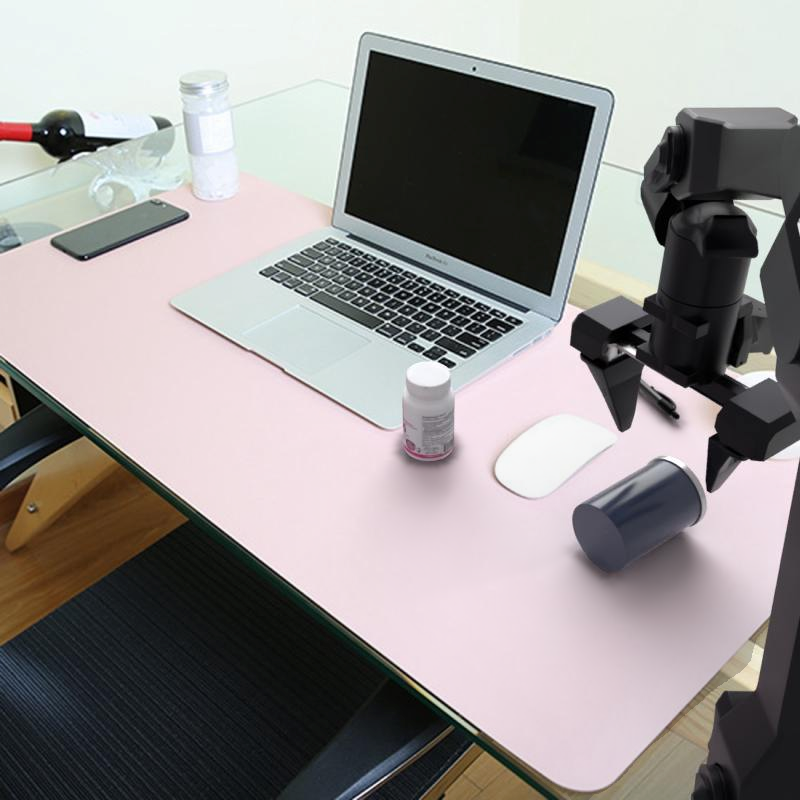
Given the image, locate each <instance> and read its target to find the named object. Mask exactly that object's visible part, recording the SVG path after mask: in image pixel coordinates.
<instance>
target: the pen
mask: <svg viewBox="0 0 800 800" xmlns="http://www.w3.org/2000/svg"><path fill="white" fill-rule="evenodd" d="M639 391H641V392H642V393H643V394H644V395H645V396H646V397H647V398H649V399H650V401H652V402H653V403H654V404H655V405H656V406H657V407H658V409H660V410H661V411H662V412H663V413H664V414H666V415H667V416H668V417H671V418H673V419H674V420H676V421H677V420H680V418H681V416H680V414H679V413H678V412H677V405H676V402H675V401H674V400H673V399H672V398H671V397H670V396H668V395H666V394H665V393H663V392H661V391H659V390H657V389H656V388H655V387H654V385H649V384H648V383H647V382H646V381H644V379H642V378H641V381H640V387H639Z"/></svg>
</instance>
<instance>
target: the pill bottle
mask: <svg viewBox="0 0 800 800" xmlns="http://www.w3.org/2000/svg"><path fill="white" fill-rule="evenodd" d="M405 373H406V374H405V387H404V389H403V391H402V397H401V401H402V402H401V403H402V405H401V407H402V443H403V444H402V445H403V448H404V451H405V453H406V454H407V455H408V456H409V457H411V458H413V459H415V460H417V461H422V462H436V461H439V460H443V459H445V458H447V457H448V456H449V455H450V454H451V453H452V451H453V449H454V445H455V407H456V402H455V401H456V397H455V395H456V394H455V392H454V389H453V387H452V375H451V371H450V368H448V366H446V365H444V364H442V363H441V362H437V361H428V360H427V361H420V362H416V363H414V364H413V365H411V366H410V367H409V368H408V369H407V370H406V372H405Z"/></svg>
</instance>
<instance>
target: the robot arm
mask: <svg viewBox="0 0 800 800" xmlns="http://www.w3.org/2000/svg"><path fill="white" fill-rule="evenodd" d="M674 119H675V125H668V126H667V127H666V128H665V130H664V133H663V135H662V138H661V140H660V141H659V143H658V144H657V145H656V147H655V148H654V150H653V151H652V153H651V155H649V158H648V159H647V161H646V163H644V166H643V180H642V181H641V184H640V200H641V203H642V206H643V209H644V211H645V214H646V215H647V218H648V221H649V224H650V227H651V229H652V232H653V234H654V236H655V239H656V241H657V243H658V244H659V245H660V246H661V247H663V248H664V249H663V256H662V261H661V268H660V273H659V278H658V285H657V290H656V292H655V293H653V294H650V295H648V296H645V297H644V298H643V304H642V305H639V304H638V303H636V302H634V301H632V300H631V299H629V298H627V297H625V296H623V295H622V294H621V295H618V296H616V297H614V298H611V299H609V300H607V301H605V302H604V301H603V302H602V303H599V304H597V305H595V306H593V307H590V308H588V309H586V310H583V311H581V312H579V313H578V314H577V315H576V317H575V318H574V319H573V320H572V322H571V329H570V337H569V338H570V339H569V346H570V347H572V348H573V349H575V350H577V351H578V352H580V353H579V358H580V361H582V362H583V363H584V364H585V365H586V367H587V368H588V370H589V372H590V374H591V376H592V378H593V380H594V381H595V383H596V385H597V387H598V389H599V391H600V393H601V395H602V397H603V399H604V401H605V403H606V406H607V408H608V410H609V413H610V415H611V417H612V420H613V422H614V424H615V427H616V429H617V430H618V432H620V433H625V432H627V431H628V430H630V429H631V428H632V425H633V422H634V418H635V416H636V415H635V414H636V410H637V403H638V399H639V392H640V389H639V387H640V381H641V379H642V375H643V371H644V368H645V366H646V367H648V368H649V369H651V370H652V371H654V372H655V373H657V374H659V375H660V376H662V377H664V378H665V379H667V380H669V381H670V382H671V383H674V384H675V385H678V386H680V387H681V388H682V389H683V388H684V389H687V388H689V389H691V390H693V391H695V392H696V393H697V394H699V395H701V396H703V397H705V398H706V399H708V400H710V401H711V402H713V403H714V404H716V405H717V406H719V407H721V408H720V410H719V411H718V413H716V416H715V422H714V426H713V428H714V430H715V433H714V434H712V435H710V436H709V437H708V439H707V452H706V464H705V465H706V468H705V479H704V480H705V489H706V492H707V493H709V494H713V493H714V492H716V491H718V490H719V489H720V488H721V487H722V486H723V485H724V483H726V481H727V480H728V479H729V477H730V476H731V475H732V474H733V473H734V472H735V470H736V469H737V468H738V467H739V465H740V464H741V463H742V462H746V461H749V460H750V461H751V462H762V463H764V462H766V461H767V460H769V459H771V458H772V457H774V456H775V455H778V454H779V453H781V452H782V451H784V450H786V449H787V448H789V447H791V446H792V445H794V444H796V443H797V442H799V441H800V229H799V226H798V224H799V221H800V123H799V118H798V117H797V116H796V114H794V113H792V112H789V111H787V110H785V109H784V108H782V107H777V106H776V107H775V106H767V107H764V106H763V107H762V106H760V107H758V106H757V107H756V106H754V107H753V106H752V107H751V106H750V107H749V106H747V107H742V106H741V107H739V106H737V107H683V108H682V109H681V110H680V111H678V113H677V115H676V116H675V118H674ZM772 200H780V201H781V202H782V208H783V212H784V217H785V219H784V221H783V222H782V224H781V227H780V229H779V231H778V233H777V235H776V237H775V239H774V241H773V243H772V245H771V246H770V248H769V250H768V253H767V255H766V257H765V259H764V261H763V263H762V265H761V266H760V270H759V281H760V286H761V292H762V296H763V301H764V302H762V301H760V300H759V299H757V298H754V297H753V296H751V295H748V294H746V293H744V292H745V290H746V289H745V288H746V284H747V280H748V275H749V270H750V267H751V262H752V259H756V258H758V256H759V252H760V251H759V250H760V249H759V241H758V239H757V236H758V229H757V226H756V225H755V223H754V221H753V220H752V218H751V217H750V216H749V215H748V214H747V212H745V210H743V209H742V208H740V207H738V206H737V205H735V202H734V201H772ZM773 350H774V353H775V356H776V360H775V371H774V377H775V380H774V379H772V378H770V377H767V378H765V379H763V380H762V381H759V382H758V383H756V384H754V385H752V386H751V387H749V386H747V385H746V384H744V383H742V382H740V381H739V380H737V379H735V378H734V377H732V376H730V375H729V374H727V373H726V372H727V368H729V367H730V366H731V367H733V368H734V369H738V368H740V367H742V366H743V365H745V364H747V362H748V358H749V355H750V354H760V353H761V354H762V355H765V356H766V355H770V354H771V353H772V351H773ZM791 496H792V497H791V502H790V508H789V513H788V517H787V518H788V519H787V525H786V529H785V534H784V539H783V546H782V549H781V550H782V551H781V557H780V561H779V567H778V573H777V576H776V577H777V578H776V583H775V587H774V593H773V598H772V605H771V610H770V615H769V621H768V626H767V630H766V631H767V632H766V637H765V642H764V648H763V653H762V659H761V664H760V670H759V674H758V679H757V683H756V684H757V685H756V687H755V689H754V690H724V691H723V692H722V693H721V695H720V696H719V697H718V699H717V700H716V702H715V704H714V705H715V706H714V714H713V715H714V716H713V725H712V730H711V734H710V738H709V740H708V742H707V750H708V753H707V756H706V763H702V764H701V765H700V766H699V768H698V771H697V772H696V773H695V777H694V778H695V779H694V786H693V787H694V788H693V791H692V792H691V794H690V800H800V458H799V459H798V463H797V470H796V475H795V480H794V486H793V491H792V495H791Z"/></svg>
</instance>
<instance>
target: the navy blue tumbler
mask: <svg viewBox="0 0 800 800" xmlns="http://www.w3.org/2000/svg"><path fill="white" fill-rule="evenodd" d="M707 509H708V502H707V496H706V492H705V490H704V487H703V485H702V483H701V481H700V479H699V478H698V476H697V475H696V474H695V473H694V471H693V470H692V469H691V468H690V467H689V466H688V465H687V464H685V463H684V462H682V461H681V460H679V459H678V458H675V457H673V456H670V455H659V456H656V457H654V458H653V459H651V460H650V461H648V462H647V464H646V465H644V466H643V467H641V468H639V469H638V470H636V471H633V472H632V473H631V474H629V475H627V476H625V477H624V478H621V480H618V481H617V482H615V483H614V484H612V485H610V486H609V487H607V488H605V489H604V490H603V489H602V491H599V492H598V493H596V494H595V495H593V496H592V497H590V498H588V499H586V500H585V501H583V502H581V503H580V504H578V505H576V507H575V508H574V509H573V512H572V515H571V523H572V529H573V532H574V536H575V538H576V540H577V542H578V544H579V546H580V547H581V550H582V551H583V553H585V555H586V556H587V557H588V558H589V560H590V561H592V562H593V563H594V564H595V565H596V566H598V568H600V569H602V570H603V571H607V572H610V573H618V572H621V571H623V570H624V569H626V568H628V566H630V565H632V564H633V563H635V562H636V561H638V560H639V559H641V558H642V557H644V556H646V555H647V554H649V553H650V552H652V551H653V550H655V549H656V548H658V547H660V546H661V545H663V544H664V543H666V542H667V541H669V540H670V539H672V538H675V536H677V535H678V534H680V533H682V532H683V531H684V530H686V529H688V528H691V527H694V526H697V524H699V523H700V522H702V521H703V519H704V518H705V516H706V514H707Z"/></svg>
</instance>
